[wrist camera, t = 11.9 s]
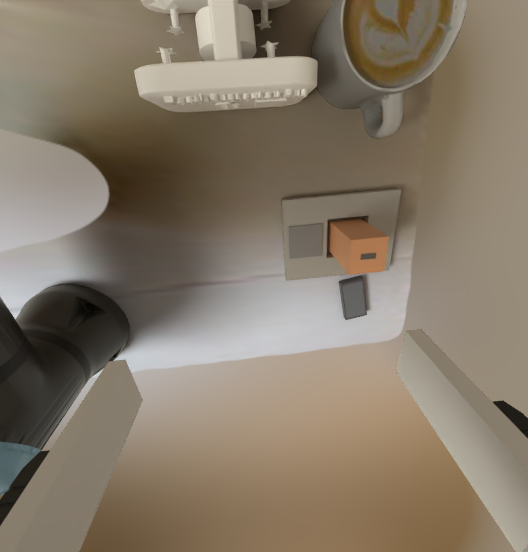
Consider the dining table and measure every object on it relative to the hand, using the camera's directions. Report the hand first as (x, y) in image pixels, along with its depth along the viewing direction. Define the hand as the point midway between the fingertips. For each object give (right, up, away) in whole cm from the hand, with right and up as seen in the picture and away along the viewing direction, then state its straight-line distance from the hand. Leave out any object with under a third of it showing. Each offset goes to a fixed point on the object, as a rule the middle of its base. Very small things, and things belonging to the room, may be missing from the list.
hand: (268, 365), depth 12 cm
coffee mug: (+10, +27, +17) cm, 34 cm away
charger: (+12, +10, +25) cm, 30 cm away
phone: (+14, +1, +30) cm, 34 cm away
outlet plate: (+11, +10, +25) cm, 29 cm away
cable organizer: (-4, +28, +16) cm, 33 cm away
